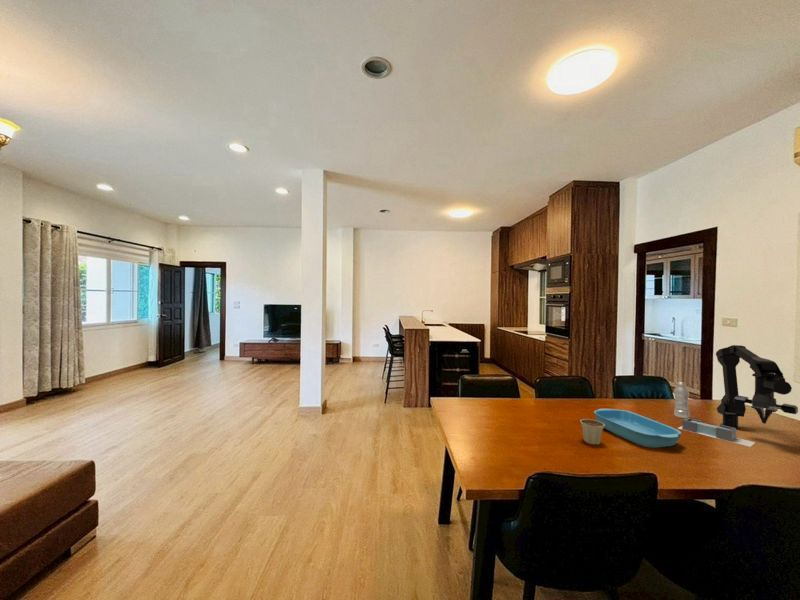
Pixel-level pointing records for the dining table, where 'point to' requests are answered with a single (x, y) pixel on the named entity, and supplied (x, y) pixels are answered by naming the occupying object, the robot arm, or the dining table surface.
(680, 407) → the plastic bottle
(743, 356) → the robot arm
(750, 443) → the board
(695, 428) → the cap fixed
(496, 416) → the dining table surface
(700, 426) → the slat
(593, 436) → the flower pot
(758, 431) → the dining table surface
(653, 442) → the casserole dish
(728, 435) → the cap sliding
